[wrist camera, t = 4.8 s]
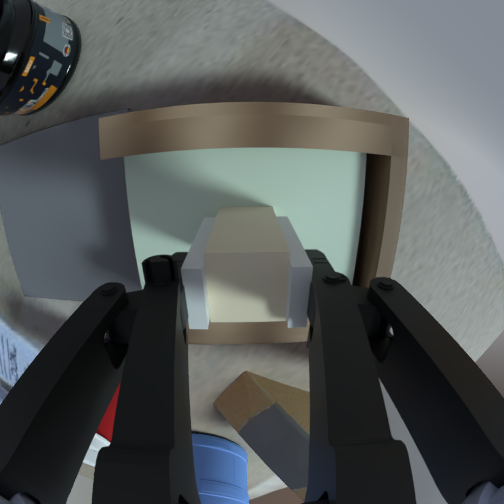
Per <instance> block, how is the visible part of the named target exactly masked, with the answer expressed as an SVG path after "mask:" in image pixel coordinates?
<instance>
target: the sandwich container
mask: <svg viewBox="0 0 504 504" xmlns="http://www.w3.org/2000/svg"><path fill="white" fill-rule="evenodd" d="M214 405H215V406H216V408H217V409H218V410H219V411H220V412H221V414H222V415H223V416H224V417H225V418H226V420H227V421H228V422H229V423H230V424H231V425H232V427H233V428H234V429H235V430H236V431H237V432H238V434H239V435H240V436H241V437H242V438H243V439H244V440H245V442H246V443H247V444H248V445H249V446H250V447H251V448H252V449H253V450H254V451H255V453H256V454H257V455H258V456H259V457H260V458H261V459H262V460H263V461H264V463H265V464H266V465H267V466H268V467H269V468H270V469H271V470H272V471H273V472H274V473H275V474H276V475H277V476H278V477H279V478H280V479H281V480H282V481H283V482H284V483H285V484H286V485H287V486H288V487H289V488H290V489H291V490H292V491H293V492H294V493H295V494H296V495H297V496H298V497H299V498H300V499H301V500H302V501H303V502H304V501H305V495H306V491H307V485H308V469H309V435H310V392H307V391H304V390H301V389H297V388H294V387H291V386H288V385H285V384H282V383H279V382H276V381H273V380H270V379H267V378H264V377H261V376H259V375H256V374H253V373H250V372H248V371H244V372H243V373H242V374H241V375H240V376H239V377H238V378H237V379H236V380H235V381H234V382H233V383H232V384H231V385H230V386H229V387H228V388H227V389H226V390H225V391H224V392H223V393H222V394H221V395H220V397H219V398H218V399H217V400H216V401H215V402H214Z"/></svg>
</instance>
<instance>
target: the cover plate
mask: <svg viewBox="0 0 504 504" xmlns="http://www.w3.org/2000/svg"><path fill="white" fill-rule="evenodd" d="M366 154H367V153H362V152H351V151H339V150H324V149H305V148H216V149H196V150H182V151H169V152H159V153H149V154H140V155H132V156H124V166H125V178H126V189H127V198H128V207H129V215H130V222H131V229H132V236H133V243H134V249H135V255H136V260H137V266H138V271H139V276H140V281H141V286H142V290H143V289H144V285H145V280H144V275H143V269H142V264H141V263H142V262H143V261H144V260H145V259H147V258H148V257H151V256H155V255H172V254H174V253H175V252H189V250H190V247H191V245H192V243H193V241H194V239H195V236H196V234H197V232H198V230H199V228H200V226H201V224H202V222H203V219H204V218H205V217H216V218H215V221H214V224H213V227H212V230H211V233H210V236H209V240H208V243H207V246H206V249H205V252H204V258H205V270H206V281H207V292H208V302H209V312H210V322H269V321H286V317H285V315H286V300H287V284H288V267H289V258H290V250H289V248H288V245H287V242H286V240H285V237H284V235H283V232H282V230H281V227H280V224H279V222H278V219H277V217H276V216H287V217H288V219H289V220H290V222H291V224H292V226H293V228H294V230H295V232H296V234H297V236H298V238H299V240H300V242H301V244H302V246H303V248H304V249H318V250H319V251H321V252H322V253H324V254H325V256H326V258H327V259H328V261H329V263H330V264H331V266H332V267H333V269H334V270H335V272H339V273H342V274H344V275H345V276H347V277H348V279H349V280H350V283H351V285H352V282H353V276H354V270H355V263H356V257H357V250H358V242H359V235H360V227H361V218H362V208H363V198H364V186H365V172H366Z"/></svg>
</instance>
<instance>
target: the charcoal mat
mask: <svg viewBox="0 0 504 504" xmlns="http://www.w3.org/2000/svg"><path fill="white" fill-rule="evenodd" d="M129 112H130V109H122V110H117V111H112V112H107V113H103V114H98V115H94V116H90V117H86V118H82V119H78V120H74V121H70V122H67V123H63V124H60V125H57V126H53V127H50V128H47V129H44V130H41V131H38V132H35V133H32V134H29V135H26V136H24V137H21V138H18V139H16V140H13V141H11V142H8V143H6V144H3V145H1V146H0V208H1V214H2V219H3V224H4V228H5V233H6V237H7V241H8V245H9V249H10V253H11V256H12V260H13V263H14V266H15V270H16V273H17V276H18V279H19V282H20V285H21V288H22V291H23V293H24V296H28V297H38V298H49V299H60V300H73V301H85V300H86V299H87V298H88V297H89V296H90V295H91V293H92V292H93V291H94V290H95V289H97V288H98V287H99V286H101V285H103V284H105V283H108V282H118V283H122V284H123V285H125V289H126V293H127V292H133V291H138V290H142V288H141V283H140V278H139V273H138V268H137V263H136V257H135V251H134V245H133V239H132V233H131V226H130V219H129V211H128V203H127V194H126V184H125V173H124V160H123V157H117V158H110V159H104V160H101V158H100V142H99V118H103V117H108V116H113V115H118V114H123V113H129Z"/></svg>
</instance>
